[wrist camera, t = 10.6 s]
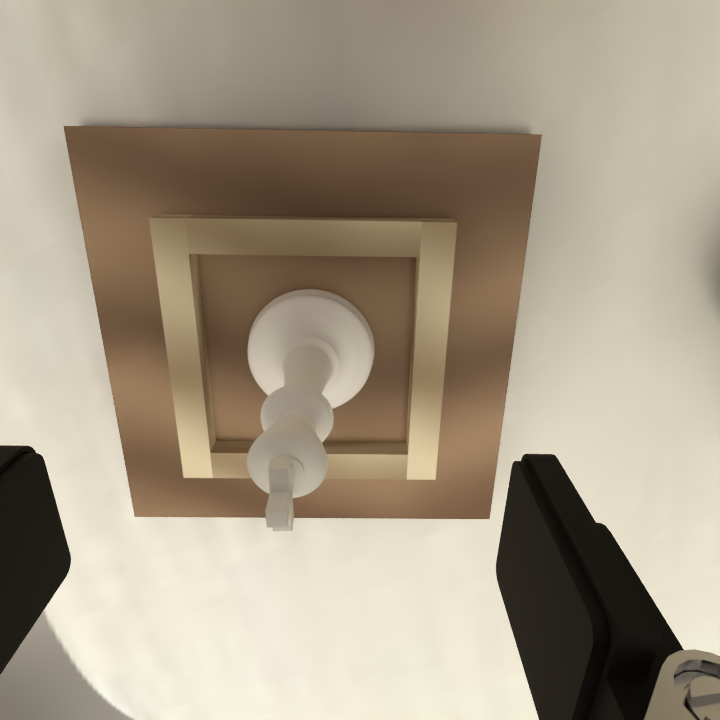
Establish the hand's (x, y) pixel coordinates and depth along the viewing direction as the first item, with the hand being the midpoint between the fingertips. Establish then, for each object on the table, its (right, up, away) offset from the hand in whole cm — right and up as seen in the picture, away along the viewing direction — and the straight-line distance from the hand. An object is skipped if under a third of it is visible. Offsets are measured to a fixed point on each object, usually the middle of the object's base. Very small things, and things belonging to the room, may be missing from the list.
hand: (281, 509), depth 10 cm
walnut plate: (0, +4, +11) cm, 12 cm away
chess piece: (0, +4, +10) cm, 11 cm away
